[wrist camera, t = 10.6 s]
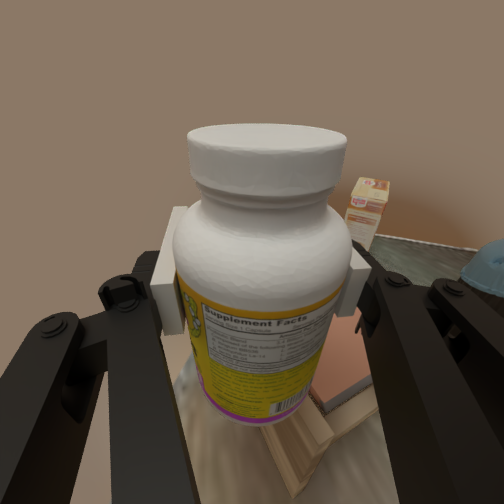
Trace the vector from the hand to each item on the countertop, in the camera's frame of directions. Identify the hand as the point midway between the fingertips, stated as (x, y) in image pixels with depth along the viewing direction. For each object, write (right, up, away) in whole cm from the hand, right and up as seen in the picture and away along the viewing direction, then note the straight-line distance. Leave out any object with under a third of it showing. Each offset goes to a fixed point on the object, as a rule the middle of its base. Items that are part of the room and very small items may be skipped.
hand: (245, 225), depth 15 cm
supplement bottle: (+1, -9, 0) cm, 9 cm away
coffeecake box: (+26, -4, +48) cm, 55 cm away
